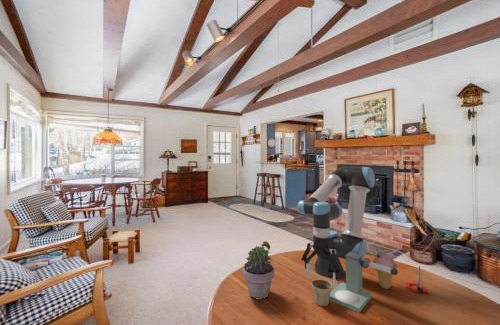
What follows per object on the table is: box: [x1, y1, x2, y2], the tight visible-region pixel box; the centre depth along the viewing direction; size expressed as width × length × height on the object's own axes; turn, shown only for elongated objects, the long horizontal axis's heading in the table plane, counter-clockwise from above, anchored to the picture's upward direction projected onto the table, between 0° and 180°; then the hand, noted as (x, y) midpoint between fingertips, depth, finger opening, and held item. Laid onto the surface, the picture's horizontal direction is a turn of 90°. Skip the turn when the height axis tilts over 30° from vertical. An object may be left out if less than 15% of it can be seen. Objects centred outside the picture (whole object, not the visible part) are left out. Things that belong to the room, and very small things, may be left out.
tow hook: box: [405, 265, 429, 294], centre depth 124 cm, size 8×13×9 cm
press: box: [329, 252, 373, 314], centre depth 116 cm, size 15×17×19 cm
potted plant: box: [240, 241, 275, 300], centre depth 120 cm, size 18×20×25 cm
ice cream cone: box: [372, 248, 398, 290], centre depth 126 cm, size 11×11×20 cm
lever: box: [360, 257, 399, 276], centre depth 112 cm, size 16×3×4 cm, turn 45°
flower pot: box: [311, 278, 333, 307], centre depth 113 cm, size 9×9×9 cm
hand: (321, 281), depth 113 cm, fingers open, 13 cm apart
